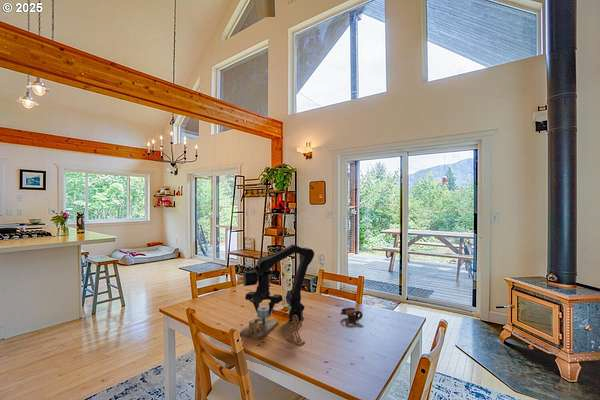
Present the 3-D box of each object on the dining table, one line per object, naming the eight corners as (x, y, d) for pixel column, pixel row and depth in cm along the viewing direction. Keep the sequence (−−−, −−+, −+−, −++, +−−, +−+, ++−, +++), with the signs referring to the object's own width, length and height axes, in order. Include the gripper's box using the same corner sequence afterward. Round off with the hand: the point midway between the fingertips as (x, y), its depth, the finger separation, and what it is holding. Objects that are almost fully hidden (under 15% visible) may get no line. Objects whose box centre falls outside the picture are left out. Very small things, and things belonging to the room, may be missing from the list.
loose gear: (272, 314, 149) (272, 307, 149) (266, 319, 142) (266, 311, 142) (261, 313, 151) (261, 305, 151) (254, 317, 145) (254, 310, 145)
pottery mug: (340, 325, 149) (337, 308, 153) (344, 326, 156) (342, 311, 161) (362, 322, 145) (359, 305, 149) (366, 324, 153) (363, 307, 157)
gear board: (278, 324, 149) (278, 311, 149) (262, 339, 132) (262, 325, 132) (258, 320, 153) (258, 308, 153) (239, 335, 136) (239, 322, 137)
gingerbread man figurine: (285, 339, 133) (285, 313, 133) (291, 336, 135) (291, 311, 135) (299, 346, 126) (299, 319, 126) (305, 343, 129) (305, 316, 129)
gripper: (239, 286, 142) (239, 317, 142) (273, 289, 136) (273, 322, 136) (250, 280, 153) (250, 309, 153) (282, 283, 146) (282, 314, 146)
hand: (263, 313), depth 147 cm, fingers closed on loose gear, 7 cm apart
